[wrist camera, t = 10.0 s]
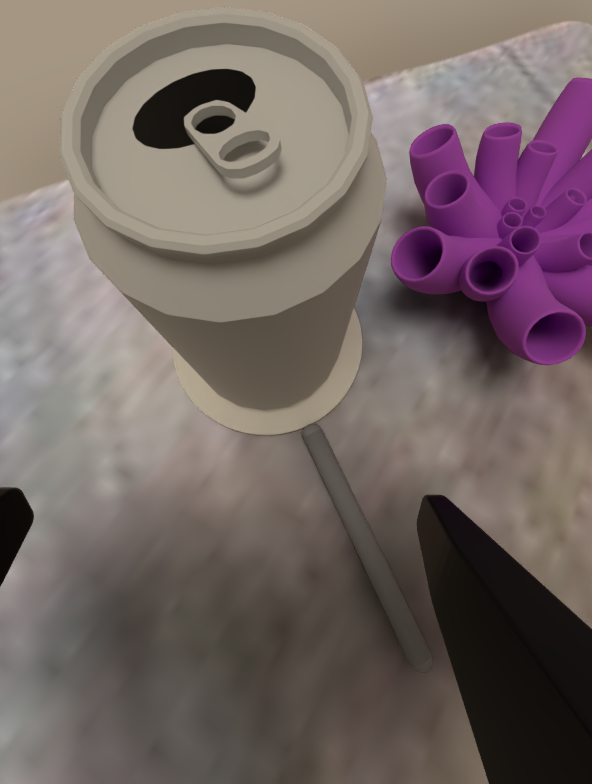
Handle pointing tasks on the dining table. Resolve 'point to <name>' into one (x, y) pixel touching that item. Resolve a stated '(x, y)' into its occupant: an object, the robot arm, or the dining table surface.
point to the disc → (286, 416)
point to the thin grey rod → (368, 551)
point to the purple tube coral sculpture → (510, 227)
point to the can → (229, 193)
